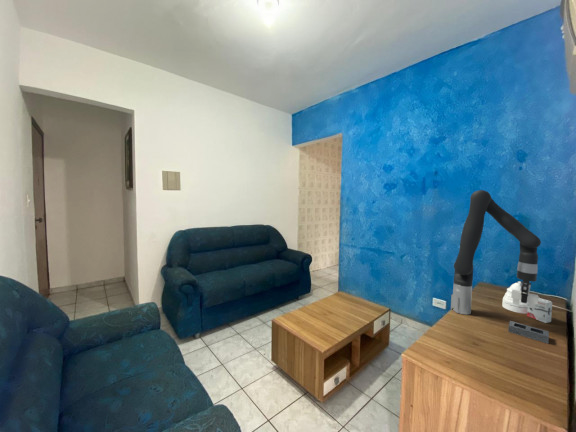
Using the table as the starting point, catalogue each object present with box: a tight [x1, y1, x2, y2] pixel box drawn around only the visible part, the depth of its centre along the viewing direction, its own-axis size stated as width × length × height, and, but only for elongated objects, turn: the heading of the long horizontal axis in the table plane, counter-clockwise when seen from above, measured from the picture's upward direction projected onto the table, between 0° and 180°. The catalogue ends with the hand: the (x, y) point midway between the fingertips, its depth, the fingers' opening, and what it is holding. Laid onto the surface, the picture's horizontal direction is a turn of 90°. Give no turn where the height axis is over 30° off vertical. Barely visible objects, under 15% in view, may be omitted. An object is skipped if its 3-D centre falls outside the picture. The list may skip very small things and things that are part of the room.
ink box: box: [526, 297, 553, 324], centre depth 134 cm, size 8×5×12 cm, turn 17°
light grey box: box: [511, 290, 539, 309], centre depth 127 cm, size 10×3×7 cm, turn 42°
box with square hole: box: [507, 320, 550, 344], centre depth 119 cm, size 14×7×4 cm, turn 42°
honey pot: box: [501, 280, 528, 315], centre depth 147 cm, size 13×13×18 cm
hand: (523, 301), depth 127 cm, fingers closed on light grey box, 3 cm apart
